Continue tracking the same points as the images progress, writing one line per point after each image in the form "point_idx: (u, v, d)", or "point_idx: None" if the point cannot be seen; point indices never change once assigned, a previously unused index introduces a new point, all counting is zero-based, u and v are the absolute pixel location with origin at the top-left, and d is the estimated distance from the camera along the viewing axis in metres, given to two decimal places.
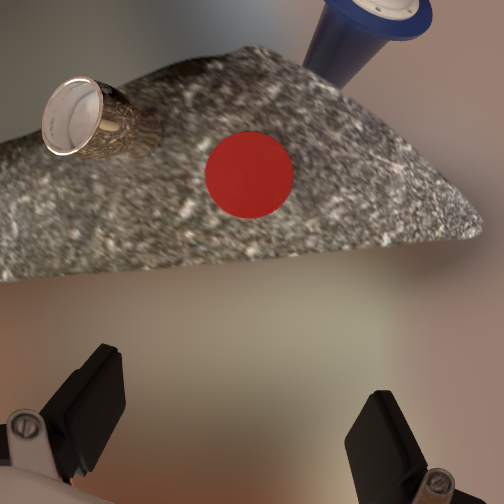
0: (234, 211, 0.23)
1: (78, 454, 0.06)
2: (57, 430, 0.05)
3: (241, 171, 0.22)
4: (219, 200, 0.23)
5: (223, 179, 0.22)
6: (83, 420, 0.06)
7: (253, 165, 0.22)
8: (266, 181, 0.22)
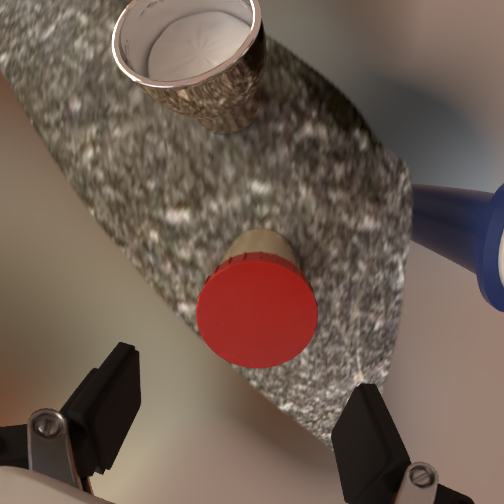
0: (204, 328, 0.16)
1: (98, 452, 0.06)
2: (79, 429, 0.06)
3: (254, 309, 0.16)
4: (203, 305, 0.16)
5: (231, 295, 0.16)
6: (104, 418, 0.06)
7: (271, 317, 0.16)
8: (262, 341, 0.16)
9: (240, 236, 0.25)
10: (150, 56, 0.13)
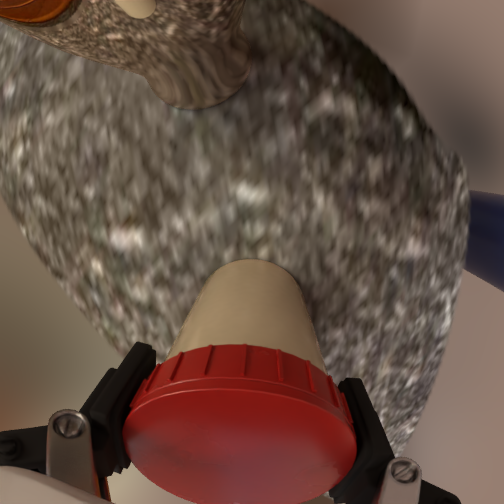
0: (143, 467, 0.07)
1: (118, 451, 0.06)
2: (100, 428, 0.06)
3: (232, 459, 0.06)
4: (133, 442, 0.06)
5: (181, 438, 0.06)
6: (125, 417, 0.07)
7: (265, 468, 0.06)
8: (248, 490, 0.07)
9: (218, 273, 0.15)
10: None
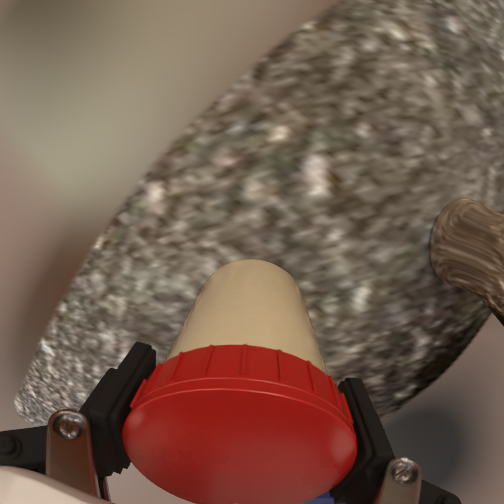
0: (143, 467, 0.07)
1: (118, 451, 0.06)
2: (100, 428, 0.06)
3: (232, 459, 0.06)
4: (133, 442, 0.06)
5: (181, 438, 0.06)
6: (125, 417, 0.07)
7: (266, 469, 0.06)
8: (248, 491, 0.07)
9: (297, 288, 0.16)
10: None
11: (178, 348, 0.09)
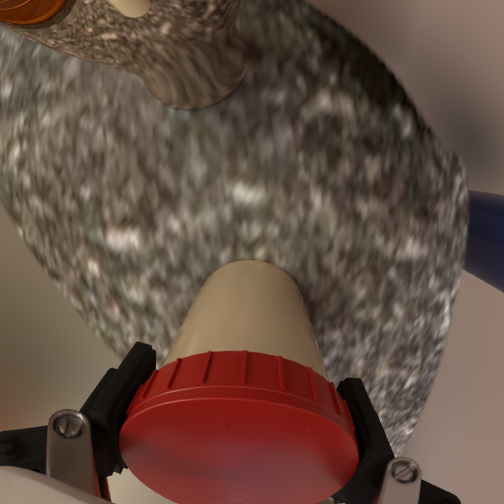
0: None
1: (118, 451, 0.06)
2: (100, 428, 0.06)
3: (214, 478, 0.06)
4: None
5: (192, 492, 0.07)
6: (125, 417, 0.07)
7: (229, 464, 0.06)
8: (287, 473, 0.06)
9: (217, 274, 0.15)
10: None
11: None
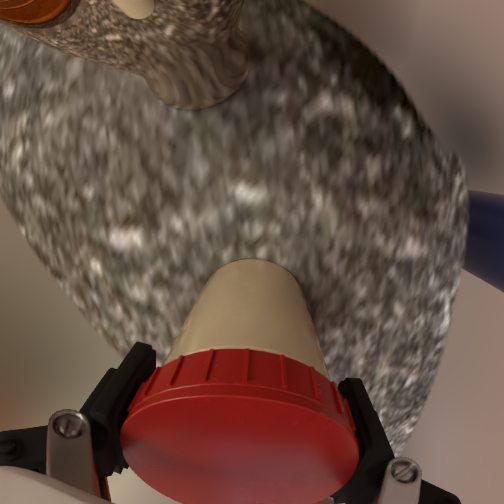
0: (347, 462, 0.06)
1: (118, 451, 0.06)
2: (100, 428, 0.06)
3: (240, 486, 0.06)
4: (333, 485, 0.06)
5: (281, 497, 0.07)
6: (125, 417, 0.07)
7: (207, 476, 0.06)
8: (222, 450, 0.06)
9: (218, 274, 0.15)
10: None
11: None
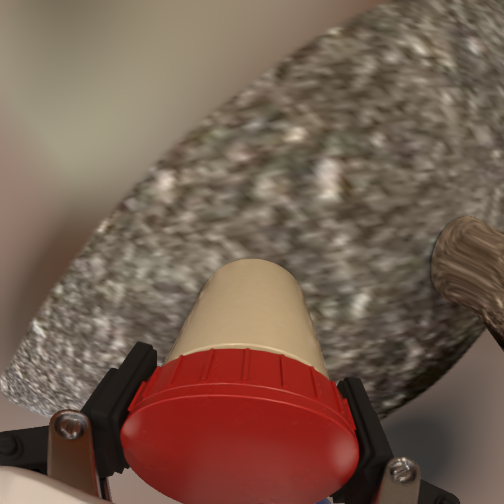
0: (347, 461, 0.06)
1: (119, 451, 0.06)
2: (101, 428, 0.06)
3: (240, 485, 0.06)
4: (333, 485, 0.06)
5: (281, 496, 0.07)
6: (126, 417, 0.07)
7: (207, 475, 0.06)
8: (222, 449, 0.06)
9: (299, 289, 0.16)
10: None
11: (181, 346, 0.09)
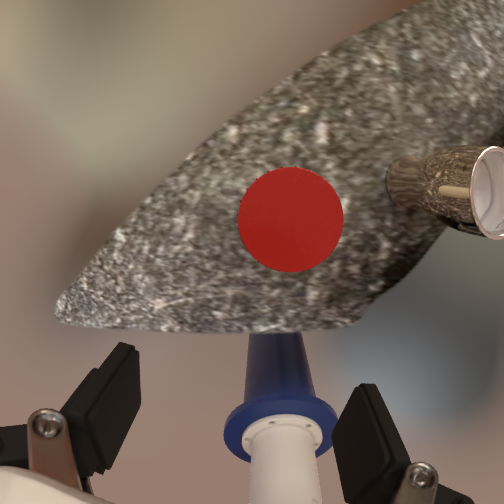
0: (337, 213, 0.18)
1: (98, 452, 0.06)
2: (79, 428, 0.06)
3: (292, 230, 0.19)
4: (335, 235, 0.19)
5: (311, 243, 0.19)
6: (104, 418, 0.06)
7: (278, 222, 0.19)
8: (287, 198, 0.18)
9: None
10: None
11: None
